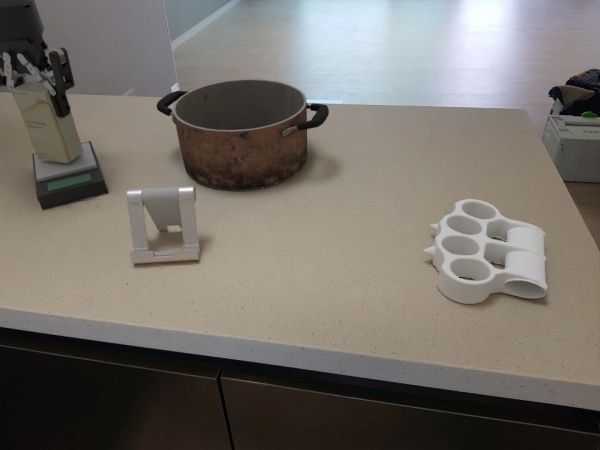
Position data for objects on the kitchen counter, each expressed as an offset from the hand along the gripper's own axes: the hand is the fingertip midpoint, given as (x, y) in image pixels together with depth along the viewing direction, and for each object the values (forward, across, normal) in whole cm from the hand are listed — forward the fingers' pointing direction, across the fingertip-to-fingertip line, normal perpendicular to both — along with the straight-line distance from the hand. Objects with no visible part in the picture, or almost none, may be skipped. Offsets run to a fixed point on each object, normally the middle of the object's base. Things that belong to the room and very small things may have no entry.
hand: (46, 113), depth 73 cm
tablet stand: (+11, +27, -13) cm, 32 cm away
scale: (+11, +1, -1) cm, 11 cm away
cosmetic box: (+8, 0, 0) cm, 8 cm away
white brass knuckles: (+11, +68, -5) cm, 69 cm away
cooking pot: (+11, +28, +13) cm, 33 cm away
